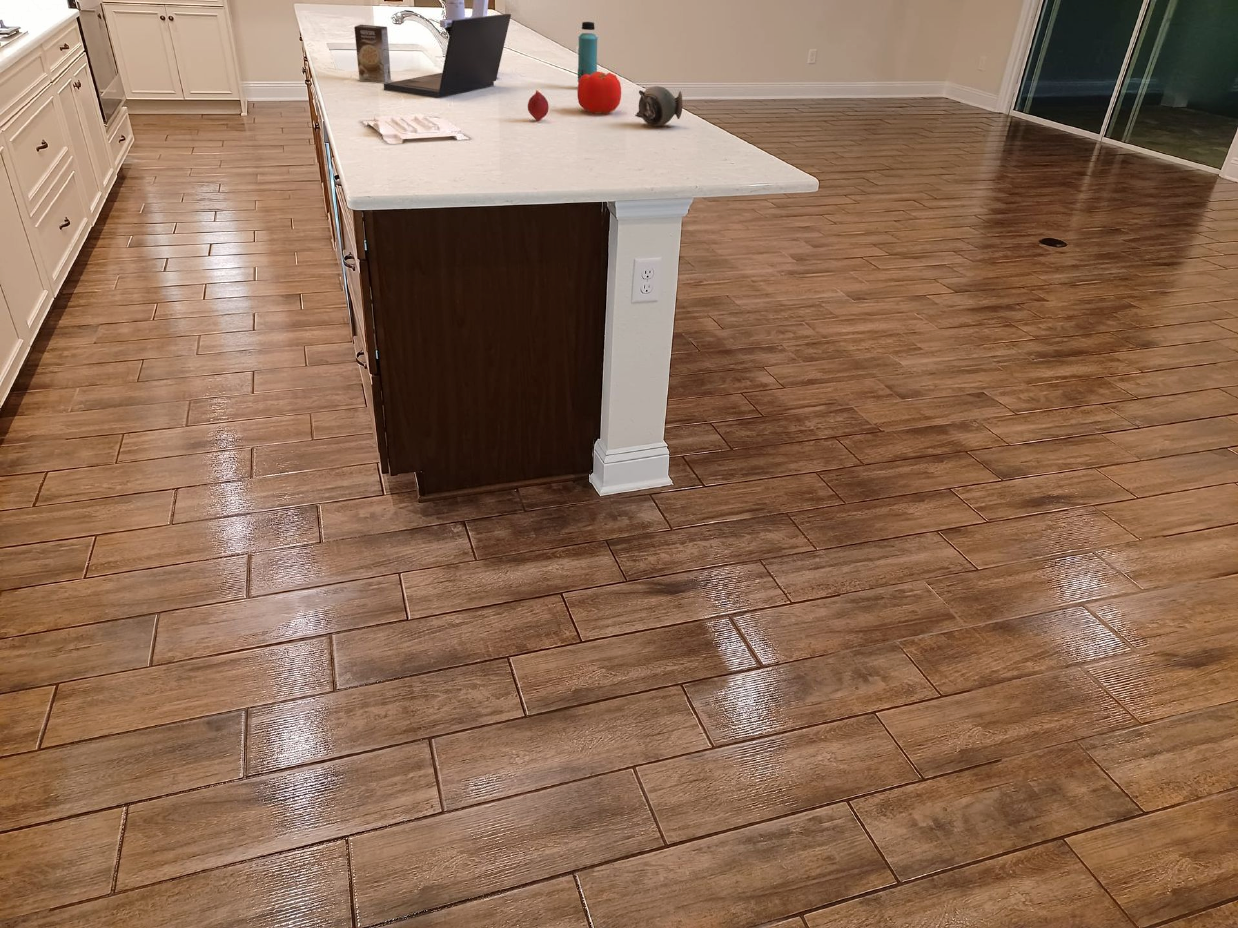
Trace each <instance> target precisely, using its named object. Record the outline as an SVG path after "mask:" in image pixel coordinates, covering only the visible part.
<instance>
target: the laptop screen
mask: <svg viewBox="0 0 1238 928" xmlns="http://www.w3.org/2000/svg"><path fill="white" fill-rule="evenodd" d="M511 17H512V14H511V13H501V14H493V15H487V16H484V17H475V18H467V19H458V20H452V25H451V30H450V35H449V34H448V41H447V47H446V52H445V57H444V62H443V68H442V72H441V73H442V78H441V83H440V88H439V92H440V93H443V92H447V91H452V90H456V89H461V88H466V87H470V86H475V85H479V84H484V83H489V82H493V81H494V82H497V77H498V73H499V70H500V65H501V61H502V56H503V52H504V47H505V44H506V39H507V34H508V29H509V26H510V21H511Z"/></svg>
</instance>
